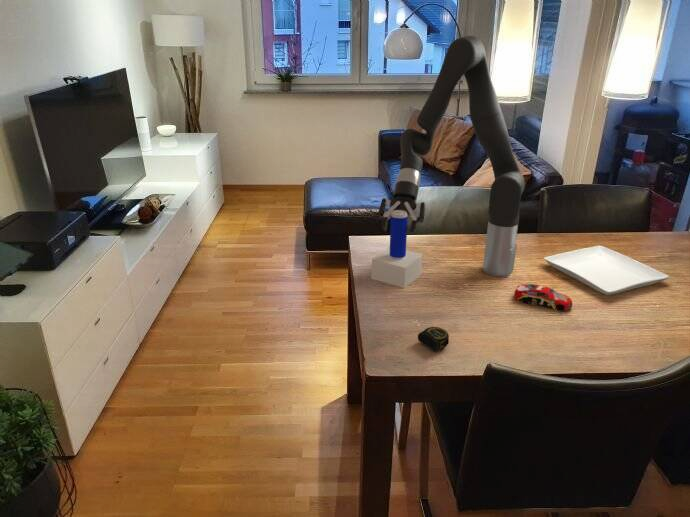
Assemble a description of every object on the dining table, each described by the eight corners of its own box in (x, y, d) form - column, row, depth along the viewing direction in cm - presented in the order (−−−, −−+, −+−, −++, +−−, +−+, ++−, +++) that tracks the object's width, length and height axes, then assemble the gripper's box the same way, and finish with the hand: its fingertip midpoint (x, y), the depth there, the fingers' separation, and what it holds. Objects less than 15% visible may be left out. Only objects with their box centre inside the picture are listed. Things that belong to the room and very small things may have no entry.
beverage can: (405, 253, 171) (407, 209, 164) (405, 260, 166) (407, 215, 160) (389, 252, 171) (391, 209, 165) (389, 259, 166) (390, 215, 160)
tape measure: (415, 343, 136) (416, 330, 135) (435, 335, 140) (436, 322, 138) (434, 355, 131) (435, 343, 130) (453, 347, 135) (455, 334, 133)
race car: (572, 304, 155) (576, 290, 153) (569, 315, 150) (573, 300, 147) (516, 292, 162) (518, 277, 160) (511, 301, 156) (514, 286, 154)
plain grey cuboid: (421, 273, 173) (422, 254, 170) (404, 288, 164) (405, 267, 161) (389, 265, 179) (390, 246, 176) (371, 278, 170) (371, 259, 167)
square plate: (606, 303, 156) (609, 291, 154) (540, 266, 179) (542, 256, 177) (668, 285, 166) (671, 274, 165) (598, 253, 189) (600, 243, 187)
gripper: (383, 178, 167) (373, 224, 162) (428, 182, 163) (419, 229, 158) (387, 189, 174) (377, 233, 169) (430, 193, 170) (421, 239, 165)
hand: (397, 231), depth 163 cm, fingers open, 8 cm apart
